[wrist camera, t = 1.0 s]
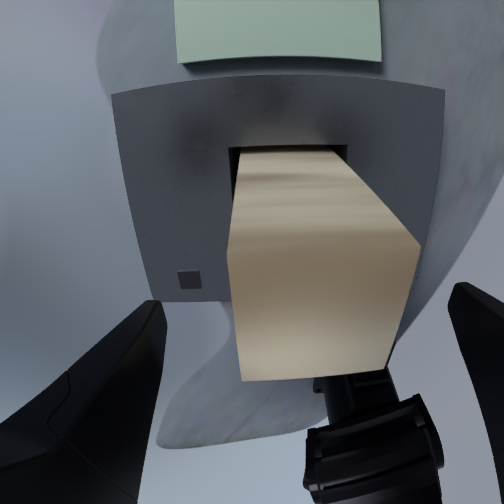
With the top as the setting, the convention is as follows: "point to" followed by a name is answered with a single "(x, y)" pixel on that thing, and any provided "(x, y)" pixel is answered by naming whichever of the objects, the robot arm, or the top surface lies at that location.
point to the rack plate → (259, 134)
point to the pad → (277, 29)
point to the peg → (313, 266)
